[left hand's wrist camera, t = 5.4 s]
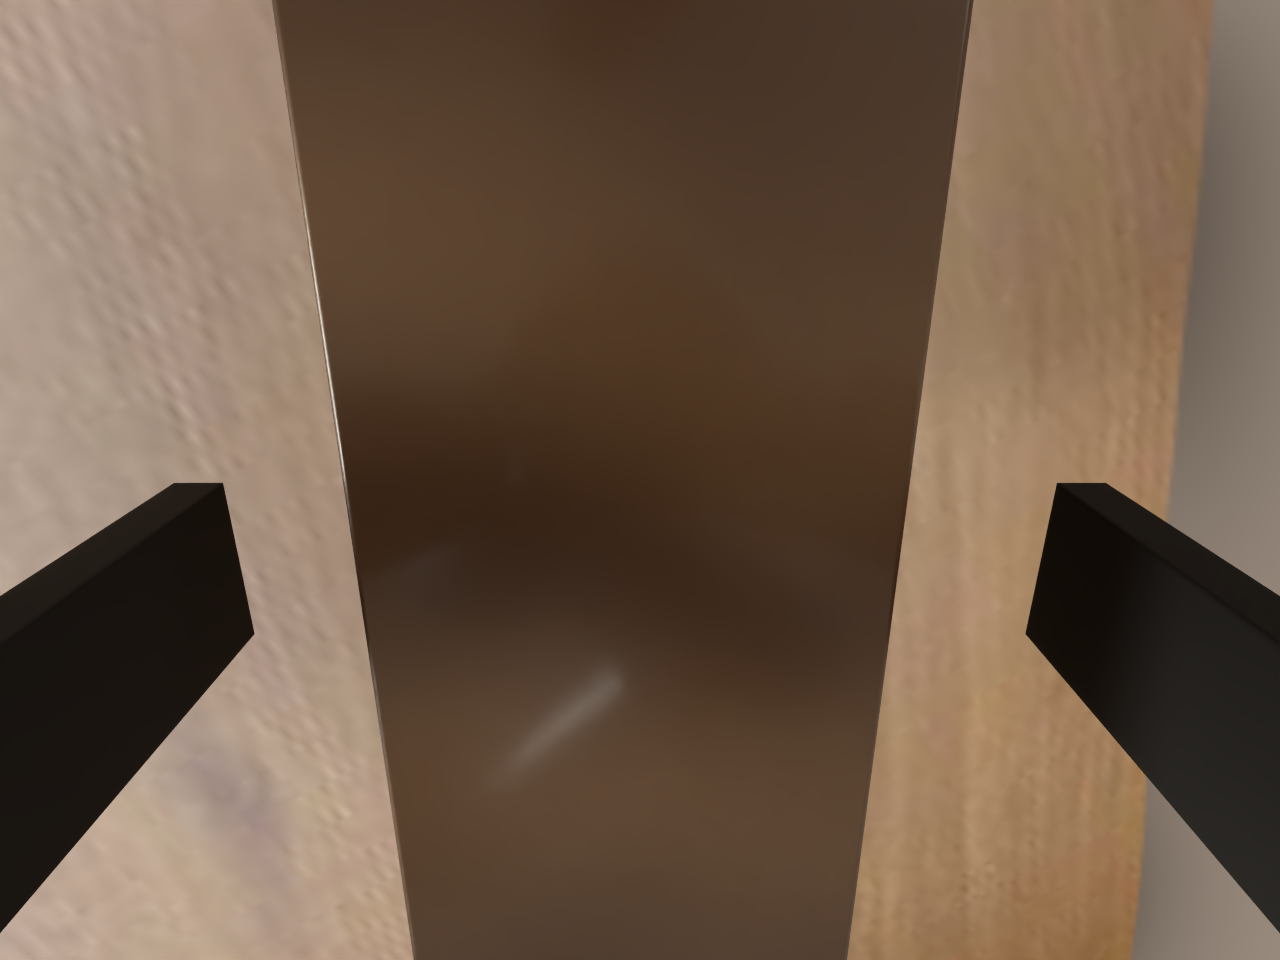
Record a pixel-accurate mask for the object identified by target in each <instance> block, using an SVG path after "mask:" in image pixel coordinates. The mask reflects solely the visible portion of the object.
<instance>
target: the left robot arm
mask: <svg viewBox="0 0 1280 960" xmlns="http://www.w3.org/2000/svg"><path fill="white" fill-rule="evenodd" d="M253 635H254V629H253V624H252V620H251V615H250V610H249V605H248V601H247V596H246V591H245V586H244V581H243V577H242V572H241V567H240V562H239V558H238V553H237V548H236V543H235V538H234V534H233V529H232V524H231V519H230V515H229V510H228V505H227V500H226V495H225V491H224V486H223V483H174V484H172V485H170V486H169V487H167V488H166V489H164V490H163V491H161V492H160V493H158V494H157V495H155V496H154V497H152V498H150V499H149V500H147V501H146V502H144V503H143V504H141V505H140V506H138V507H137V508H135V509H134V510H132V511H130V512H129V513H127V514H126V515H124V516H123V517H121V518H120V519H118V520H117V521H115V522H114V523H112V524H110V525H109V526H107V527H106V528H104V529H103V530H101V531H100V532H98V533H97V534H95V535H94V536H92V537H90V538H89V539H87V540H86V541H84V542H83V543H81V544H80V545H78V546H77V547H75V548H74V549H72V550H70V551H69V552H67V553H66V554H64V555H63V556H61V557H60V558H58V559H57V560H55V561H54V562H52V563H50V564H49V565H47V566H46V567H44V568H43V569H41V570H40V571H38V572H37V573H35V574H34V575H32V576H30V577H29V578H27V579H26V580H24V581H23V582H21V583H20V584H18V585H17V586H15V587H14V588H12V589H10V590H9V591H7V592H6V593H4V594H3V595H1V596H0V933H1V931H2V930H3V929H4V928H5V927H6V926H7V924H8V923H9V922H10V921H11V920H12V919H13V917H14V916H15V915H16V914H17V913H18V911H19V910H20V909H21V908H22V907H23V906H24V904H25V903H26V902H27V901H28V900H29V899H30V897H31V896H32V895H33V894H34V893H35V891H36V890H37V889H38V888H39V887H40V886H41V884H42V883H43V882H44V881H45V880H46V879H47V877H48V876H49V875H50V874H51V873H52V871H53V870H54V869H55V868H56V867H57V866H58V864H59V863H60V862H61V861H62V860H63V859H64V857H65V856H66V855H67V854H68V853H69V851H70V850H71V849H72V848H73V847H74V846H75V844H76V843H77V842H78V841H79V840H80V839H81V837H82V836H83V835H84V834H85V833H86V831H87V830H88V829H89V828H90V827H91V826H92V824H93V823H94V822H95V821H96V820H97V819H98V817H99V816H100V815H101V814H102V813H103V811H104V810H105V809H106V808H107V807H108V806H109V804H110V803H111V802H112V801H113V800H114V799H115V797H116V796H117V795H118V794H119V793H120V791H121V790H122V789H123V788H124V787H125V786H126V784H127V783H128V782H129V781H130V780H131V779H132V777H133V776H134V775H135V774H136V773H137V771H138V770H139V769H140V768H141V767H142V766H143V764H144V763H145V762H146V761H147V760H148V759H149V757H150V756H151V755H152V754H153V753H154V751H155V750H156V749H157V748H158V747H159V746H160V744H161V743H162V742H163V741H164V740H165V739H166V737H167V736H168V735H169V734H170V733H171V731H172V730H173V729H174V728H175V727H176V726H177V724H178V723H179V722H180V721H181V720H182V719H183V717H184V716H185V715H186V714H187V713H188V711H189V710H190V709H191V708H192V707H193V706H194V704H195V703H196V702H197V701H198V700H199V699H200V697H201V696H202V695H203V694H204V693H205V691H206V690H207V689H208V688H209V687H210V686H211V684H212V683H213V682H214V681H215V680H216V679H217V677H218V676H219V675H220V674H221V673H222V671H223V670H224V669H225V668H226V667H227V666H228V664H229V663H230V662H231V661H232V660H233V659H234V657H235V656H236V655H237V654H238V653H239V651H240V650H241V649H242V648H243V647H244V646H245V644H246V643H247V642H248V641H249V640H250V639H251V637H252V636H253ZM1026 635H1027V636H1028V637H1029V639H1030V640H1031V641H1032V642H1033V643H1034V644H1035V646H1036V647H1037V648H1038V649H1039V650H1040V651H1041V653H1042V654H1043V655H1044V656H1045V657H1046V659H1047V660H1048V661H1049V662H1050V663H1051V664H1052V666H1053V667H1054V668H1055V669H1056V670H1057V671H1058V673H1059V674H1060V675H1061V676H1062V677H1063V679H1064V680H1065V681H1066V682H1067V683H1068V684H1069V686H1070V687H1071V688H1072V689H1073V690H1074V691H1075V693H1076V694H1077V695H1078V696H1079V697H1080V699H1081V700H1082V701H1083V702H1084V703H1085V704H1086V706H1087V707H1088V708H1089V709H1090V710H1091V711H1092V713H1093V714H1094V715H1095V716H1096V717H1097V719H1098V720H1099V721H1100V722H1101V723H1102V724H1103V726H1104V727H1105V728H1106V729H1107V730H1108V731H1109V733H1110V734H1111V735H1112V736H1113V737H1114V739H1115V740H1116V741H1117V742H1118V743H1119V744H1120V746H1121V747H1122V748H1123V749H1124V750H1125V751H1126V753H1127V754H1128V755H1129V756H1130V757H1131V759H1132V760H1133V761H1134V762H1135V763H1136V764H1137V766H1138V767H1139V768H1140V769H1141V770H1142V771H1143V773H1144V774H1145V775H1146V776H1147V777H1148V779H1149V780H1150V781H1151V782H1152V783H1153V784H1154V785H1155V787H1156V788H1157V789H1158V790H1159V791H1160V793H1161V794H1162V795H1163V796H1164V797H1165V799H1166V800H1167V801H1168V802H1169V803H1170V804H1171V806H1172V807H1173V808H1174V809H1175V810H1176V811H1177V813H1178V814H1179V815H1180V816H1181V817H1182V818H1183V820H1184V821H1185V822H1186V823H1187V824H1188V826H1189V827H1190V828H1191V829H1192V830H1193V831H1194V833H1195V834H1196V835H1197V836H1198V837H1199V839H1200V840H1201V841H1202V842H1203V843H1204V844H1205V846H1206V847H1207V848H1208V849H1209V850H1210V851H1211V853H1212V854H1213V855H1214V856H1215V857H1216V859H1217V860H1218V861H1219V862H1220V863H1221V864H1222V866H1223V867H1224V868H1225V869H1226V870H1227V871H1228V873H1229V874H1230V875H1231V876H1232V877H1233V879H1234V880H1235V881H1236V882H1237V883H1238V884H1239V886H1240V887H1241V888H1242V889H1243V890H1244V891H1245V893H1246V894H1247V895H1248V896H1249V897H1250V898H1251V900H1252V901H1253V902H1254V903H1255V904H1256V906H1257V907H1258V908H1259V909H1260V910H1261V911H1262V913H1263V914H1264V915H1265V916H1266V917H1267V919H1268V920H1269V921H1270V922H1271V923H1272V924H1273V926H1274V927H1275V928H1276V929H1277V930H1278V931H1279V933H1280V596H1279V595H1277V594H1276V593H1274V592H1273V591H1271V590H1269V589H1268V588H1266V587H1265V586H1263V585H1262V584H1260V583H1259V582H1257V581H1256V580H1254V579H1253V578H1251V577H1250V576H1248V575H1246V574H1245V573H1243V572H1242V571H1240V570H1239V569H1237V568H1236V567H1234V566H1233V565H1231V564H1229V563H1228V562H1226V561H1225V560H1223V559H1222V558H1220V557H1219V556H1217V555H1216V554H1214V553H1213V552H1211V551H1210V550H1208V549H1206V548H1205V547H1203V546H1202V545H1200V544H1199V543H1197V542H1196V541H1194V540H1193V539H1191V538H1189V537H1188V536H1186V535H1185V534H1183V533H1182V532H1180V531H1179V530H1177V529H1176V528H1174V527H1173V526H1171V525H1170V524H1168V523H1166V522H1165V521H1163V520H1162V519H1160V518H1159V517H1157V516H1156V515H1154V514H1153V513H1151V512H1150V511H1148V510H1146V509H1145V508H1143V507H1142V506H1140V505H1139V504H1137V503H1136V502H1134V501H1133V500H1131V499H1130V498H1128V497H1126V496H1125V495H1123V494H1122V493H1120V492H1119V491H1117V490H1116V489H1114V488H1113V487H1111V486H1110V485H1108V484H1106V483H1057V486H1056V491H1055V495H1054V500H1053V505H1052V510H1051V515H1050V519H1049V524H1048V529H1047V534H1046V538H1045V543H1044V548H1043V553H1042V558H1041V562H1040V567H1039V572H1038V577H1037V581H1036V586H1035V591H1034V596H1033V601H1032V605H1031V610H1030V615H1029V620H1028V624H1027V629H1026Z"/></svg>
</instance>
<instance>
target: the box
mask: <svg viewBox="0 0 1280 960" xmlns="http://www.w3.org/2000/svg"><path fill="white" fill-rule="evenodd" d="M272 4H273V10H274V17H275V24H276V31H277V38H278V44H279V51H280V58H281V65H282V71H283V78H284V85H285V92H286V98H287V105H288V112H289V119H290V125H291V132H292V139H293V146H294V152H295V159H296V166H297V173H298V180H299V186H300V193H301V200H302V207H303V213H304V220H305V227H306V234H307V240H308V247H309V254H310V261H311V267H312V274H313V281H314V288H315V295H316V301H317V308H318V315H319V322H320V328H321V335H322V342H323V349H324V355H325V362H326V369H327V376H328V382H329V389H330V396H331V403H332V410H333V416H334V423H335V430H336V437H337V443H338V450H339V457H340V464H341V470H342V477H343V484H344V491H345V497H346V504H347V511H348V518H349V524H350V531H351V538H352V545H353V552H354V558H355V565H356V572H357V579H358V585H359V592H360V599H361V606H362V612H363V619H364V626H365V633H366V639H367V646H368V653H369V660H370V667H371V673H372V680H373V687H374V694H375V700H376V707H377V714H378V721H379V727H380V734H381V741H382V748H383V754H384V761H385V768H386V775H387V782H388V788H389V795H390V802H391V809H392V815H393V822H394V829H395V836H396V842H397V849H398V856H399V863H400V869H401V876H402V883H403V890H404V896H405V903H406V910H407V917H408V924H409V930H410V937H411V944H412V951H413V957H414V960H847V954H848V947H849V939H850V931H851V924H852V916H853V909H854V901H855V893H856V886H857V878H858V871H859V863H860V856H861V848H862V840H863V833H864V825H865V818H866V810H867V803H868V795H869V787H870V780H871V772H872V765H873V757H874V750H875V742H876V734H877V727H878V719H879V712H880V704H881V697H882V689H883V681H884V674H885V666H886V659H887V651H888V643H889V636H890V628H891V621H892V613H893V606H894V598H895V590H896V583H897V575H898V568H899V560H900V553H901V545H902V537H903V530H904V522H905V515H906V507H907V500H908V492H909V484H910V477H911V469H912V462H913V454H914V446H915V439H916V431H917V424H918V416H919V409H920V401H921V393H922V386H923V378H924V371H925V363H926V356H927V348H928V340H929V333H930V325H931V318H932V310H933V303H934V295H935V287H936V280H937V272H938V265H939V257H940V250H941V242H942V234H943V227H944V219H945V212H946V204H947V196H948V189H949V181H950V174H951V166H952V159H953V151H954V143H955V136H956V128H957V121H958V113H959V106H960V98H961V90H962V83H963V75H964V68H965V60H966V53H967V45H968V37H969V30H970V22H971V15H972V7H973V0H272Z"/></svg>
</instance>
